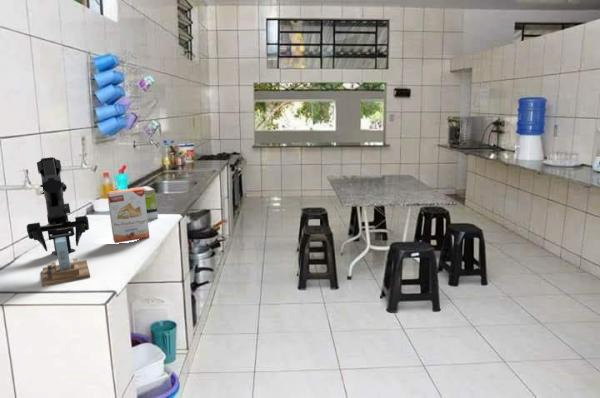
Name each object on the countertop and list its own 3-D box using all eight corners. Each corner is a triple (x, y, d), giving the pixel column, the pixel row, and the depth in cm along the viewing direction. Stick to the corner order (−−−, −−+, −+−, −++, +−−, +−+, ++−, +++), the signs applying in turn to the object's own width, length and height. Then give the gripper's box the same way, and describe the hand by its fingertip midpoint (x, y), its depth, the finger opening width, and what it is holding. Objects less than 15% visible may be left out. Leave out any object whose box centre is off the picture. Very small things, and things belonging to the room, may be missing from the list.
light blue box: (60, 268, 164) (55, 237, 162) (70, 266, 166) (65, 236, 163) (60, 275, 157) (55, 243, 155) (71, 273, 158) (66, 241, 156)
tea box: (159, 218, 235) (155, 188, 232) (138, 222, 230) (134, 191, 227) (151, 213, 248) (148, 185, 245) (131, 216, 243) (127, 187, 240)
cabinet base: (43, 270, 167) (41, 262, 166) (86, 262, 173) (85, 254, 172) (42, 286, 151) (40, 277, 150) (90, 277, 157) (88, 268, 156)
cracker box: (115, 244, 195) (107, 193, 190) (113, 240, 200) (106, 191, 196) (150, 237, 201) (144, 188, 197) (147, 234, 206) (141, 186, 202)
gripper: (22, 200, 157) (26, 240, 150) (83, 192, 165) (90, 230, 158) (27, 219, 166) (31, 258, 158) (85, 210, 174) (92, 247, 167)
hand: (61, 248), depth 160 cm, fingers open, 9 cm apart
